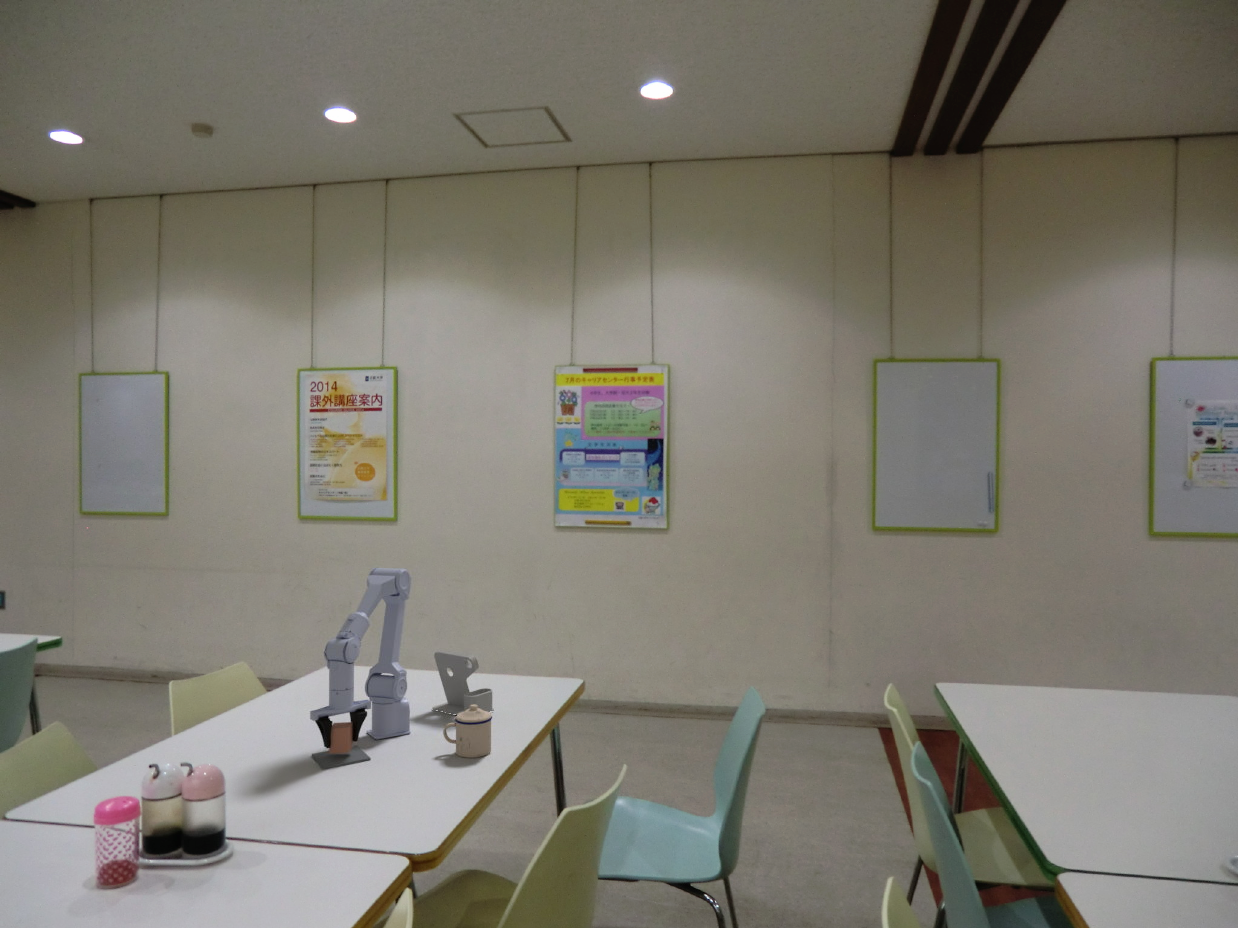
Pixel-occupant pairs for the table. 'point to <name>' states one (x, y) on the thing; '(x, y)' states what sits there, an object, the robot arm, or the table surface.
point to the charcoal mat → (340, 758)
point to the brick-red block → (341, 737)
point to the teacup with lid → (472, 733)
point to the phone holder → (460, 683)
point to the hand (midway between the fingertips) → (341, 743)
